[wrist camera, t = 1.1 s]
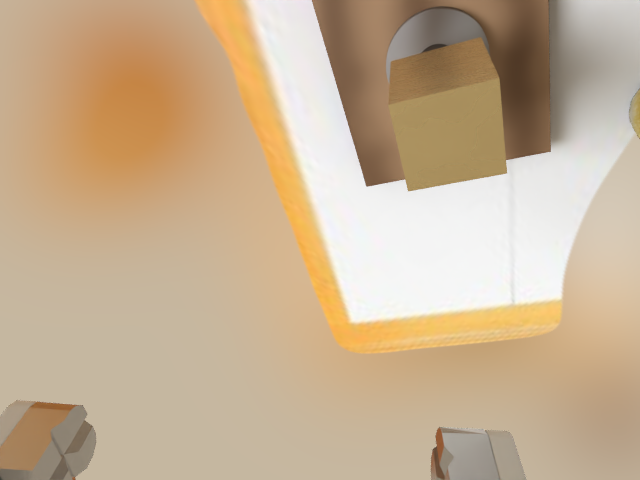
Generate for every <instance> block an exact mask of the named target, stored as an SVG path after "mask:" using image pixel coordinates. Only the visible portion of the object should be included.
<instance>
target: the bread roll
mask: <svg viewBox="0 0 640 480" xmlns="http://www.w3.org/2000/svg"><path fill="white" fill-rule="evenodd" d="M629 118H630V122H631V124H632V127H633V128H634V130H635V132H636V134H637V136H638V137H639V139H640V89H639V90H638V91H637V93H636V94H635V96H634V97H633V99H632V101H631V105H630V110H629Z"/></svg>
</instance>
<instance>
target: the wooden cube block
mask: <svg viewBox="0 0 640 480" xmlns="http://www.w3.org/2000/svg"><path fill="white" fill-rule="evenodd" d="M388 106H389V111H390V115H391V119H392V124H393V128H394V132H395V137H396V141H397V145H398V149H399V154H400V158H401V162H402V167H403V171H404V175H405V180H406V184H407V188H408V191H413V190H418V189H424V188H429V187H435V186H440V185H446V184H451V183H457V182H462V181H467V180H473V179H478V178H484V177H489V176H495V175H500V174H506V173H507V167H506V155H505V142H504V129H503V117H502V104H501V91H500V79H499V76H498V74H497V72H496V69H495V67H494V65H493V63H492V60H491V58H490V56H489V54H488V51H487V49H486V47H485V45H484V43H483V40H482V38H481V37H479V38H475V39H472V40H468V41H464V42H460V43H457V44H453V45H449V46H446V47H442V48H438V49H434V50H431V51H427V52H423V53H420V54H416V55H412V56H408V57H405V58H401V59H397V60H394V61H391V66H390V83H389V99H388Z"/></svg>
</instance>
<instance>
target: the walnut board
mask: <svg viewBox="0 0 640 480" xmlns="http://www.w3.org/2000/svg"><path fill="white" fill-rule="evenodd" d="M312 2H313V6H314V9H315V13H316V16H317V19H318V23H319V26H320V30H321V33H322V36H323V40H324V43H325V47H326V50H327V53H328V57H329V60H330V64H331V67H332V70H333V74H334V77H335V81H336V84H337V87H338V91H339V94H340V98H341V101H342V104H343V108H344V111H345V115H346V118H347V121H348V125H349V128H350V132H351V135H352V138H353V142H354V145H355V149H356V152H357V155H358V159H359V162H360V166H361V169H362V173H363V176H364V179H365V183H366V186H372V185H378V184H383V183H388V182H393V181H399V180H404V179H405V175H404V171H403V167H402V162H401V158H400V154H399V149H398V145H397V141H396V137H395V132H394V128H393V124H392V119H391V115H390V111H389V106H388V99H389V83H390V66H391V61H394V60H397V59H401V58H405V57H408V56H412V55H416V54H420V53H423V52H427V51H431V50H434V49H438V48H442V47H446V46H449V45H453V44H457V43H460V42H464V41H468V40H472V39H475V38H479V37H481V38H482V40H483V43H484V45H485V47H486V49H487V51H488V54H489V56H490V58H491V60H492V63H493V65H494V67H495V69H496V72H497V74H498V76H499V79H500V91H501V104H502V117H503V129H504V142H505V155H506V160H509V159H514V158H519V157H524V156H530V155H535V154H540V153H545V152H551V140H550V66H549V0H312Z"/></svg>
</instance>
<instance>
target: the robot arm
mask: <svg viewBox="0 0 640 480" xmlns="http://www.w3.org/2000/svg"><path fill="white" fill-rule="evenodd" d="M86 416H87V412H86V410H85V408H84V407H83V405H72V404H59V403H46V402H36V401H20V400H16V401H15V402H14V403H12V404H10V405H9V406H8V407H7V408H6V409H5V411H4V412H3V413H2V414H1V416H0V480H75V477H76V476H77V475H78V474H79V473H81V472H82V471H84V470H85V469H86V468H87V467H88V465H89V463H90V461H91V458H92V456H93V453H94V449H95V445H96V433H95V430H94V428H93V426H92V425H90V424H89V423H88V422H86V421H85V418H86ZM436 444H437V446H436V447H435V448H434V449H433V451H432V457H431V480H526V477H525V474H524V471H523V468H522V465H521V461H520V458H519V455H518V452H517V449H516V445H515V442H514V439H513V436H512V435H511V434H510V432H508V431H494V430H483V429H468V428H466V429H465V428H446V427H439V428H438V430H437V433H436Z"/></svg>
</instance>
